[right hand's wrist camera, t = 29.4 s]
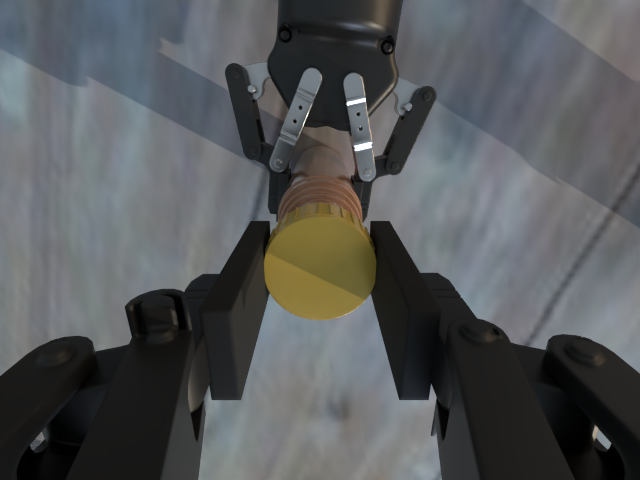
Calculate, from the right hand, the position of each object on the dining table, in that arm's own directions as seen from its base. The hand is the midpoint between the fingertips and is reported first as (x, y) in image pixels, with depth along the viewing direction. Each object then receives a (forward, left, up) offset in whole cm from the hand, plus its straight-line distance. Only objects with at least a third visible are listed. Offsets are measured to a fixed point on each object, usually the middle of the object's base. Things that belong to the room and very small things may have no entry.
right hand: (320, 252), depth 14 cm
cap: (0, 0, +2) cm, 2 cm away
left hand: (-1, -3, -12) cm, 12 cm away
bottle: (0, 0, -19) cm, 19 cm away
